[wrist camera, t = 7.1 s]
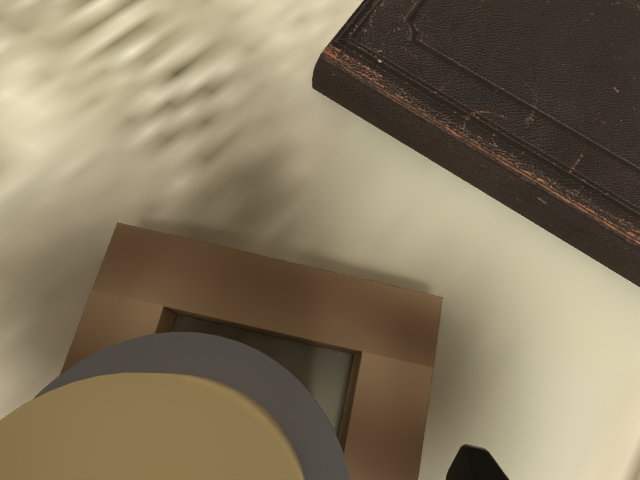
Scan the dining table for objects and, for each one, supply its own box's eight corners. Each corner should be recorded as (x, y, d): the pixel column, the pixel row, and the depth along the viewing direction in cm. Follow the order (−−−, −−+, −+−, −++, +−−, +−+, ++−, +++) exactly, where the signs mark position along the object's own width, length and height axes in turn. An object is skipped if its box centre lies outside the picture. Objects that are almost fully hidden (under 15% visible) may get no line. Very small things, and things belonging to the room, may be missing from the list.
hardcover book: (463, -101, 26) (479, -146, 24) (844, 104, 24) (901, 77, 22) (309, 95, 21) (312, 62, 19) (763, 371, 19) (825, 371, 17)
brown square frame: (373, 666, 15) (387, 710, 13) (9, 586, 15) (-32, 617, 13) (426, 305, 18) (442, 297, 16) (135, 238, 18) (117, 222, 16)
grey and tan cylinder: (333, 465, 16) (488, 742, 4) (201, 538, 15) (-143, 1205, 3) (276, 338, 17) (257, 240, 5) (150, 397, 17) (-250, 455, 4)
